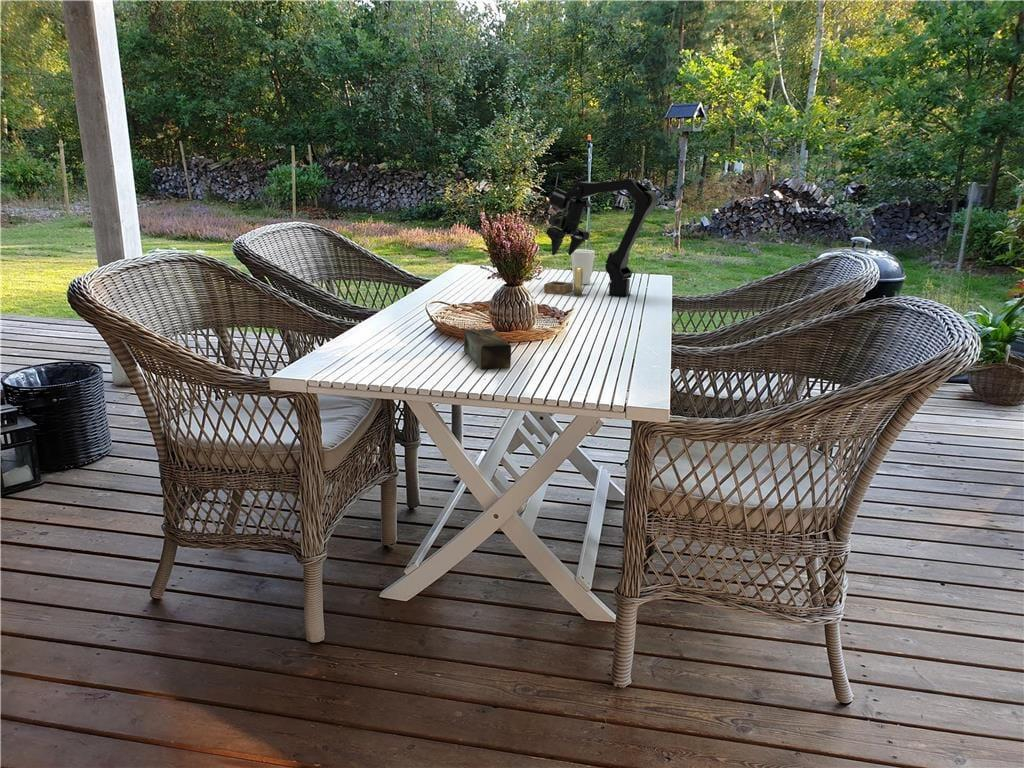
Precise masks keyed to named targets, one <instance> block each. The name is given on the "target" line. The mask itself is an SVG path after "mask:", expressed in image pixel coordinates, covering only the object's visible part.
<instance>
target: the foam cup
mask: <svg viewBox="0 0 1024 768" xmlns="http://www.w3.org/2000/svg"><path fill="white" fill-rule="evenodd" d="M595 256H596V252H595V250H592V249H583V248H582V249H580V248H577V249H576V250H575V251H574V252H573V253H572V254H571V255H570V259H571V268H572V278H573V282H572V283H574V275H575V267H582V268H583V282H582V284H589V283H591V277H592V273H593V266H594V260H595ZM589 285H590V284H589Z"/></svg>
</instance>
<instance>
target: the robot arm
mask: <svg viewBox="0 0 1024 768" xmlns="http://www.w3.org/2000/svg"><path fill="white" fill-rule="evenodd" d="M618 191H627V193H629V195H630V196H631V197H632V198H633V200H635V203H634V208H633V209H634V210H633V215H632V218H631V219H630V221H629V224H628V226H627V227H626V228H627V229H626V230H625V233H624V234H623V236H622V239H621V241H620V243H619V246H618V247H617V250H614V251H611V252H609V254H608V256H607V259H606V261H604V264H605V266H604V267H605V268H604V269H605V270H606V273H607V275H608V277H609V280H610V282H608V283H609V286H608V297H616V298H617V297H618V298H627V297H630V296H631V294H632V293H630V284H631V283H630V282H631V278H632V276H633V271H632V270H631V269H630V268H629V267H628V264H629V258H630V257H629V256H630V252H631V250H632V248H633V246H634V244H635V241H636V239H637V238H638V236H639V233H640V231H641V229H642V226H643V224H644V223H645V221H646V220H647V217H648V216H649V215H650V214H651V213H652V212H653V210H654V209H655V208H656V207H657V205H658V202H659V196H658V194H657V192H655V191H653V190H650V189H649V188H648V187H647V186H644V185H643V184H642V183H640V182H639V181H637V179H636V178H634V177H628V178H624V179H619V180H610V181H602V182H595V181H577V182H575V183H574V184H573V186H572V188H571V189H570V190H568V191H565V190H563V189H560V188H555V189H554V192H552V194H551V196H550V197H549V200H548V204H549V207H553V208H556V209H558V210H560V211H563V212H564V211H566V210H567V211H566V214H563V215H562V216H561V218H558V217H557V215H550V216H549V219H548V224H550V226H549V227H547V228H546V232H545V234H546V235H547V237H549V238H550V240H551V256H556V254H557V252H558V251H559V249H560V247H561V245H562V244H563V242H564V240H563V239H564V238H565V237H570V244H569V247H568V253H567V255H569V256H571V254H572V253H573V252H574V251H575V250H577V249H579V247H580V246H581V245H582V244H583V243H585V242H586V241H588V240H589V237H590V233H589V231H587V230H585V229H583V228H581V227H580V224H581V225H582V224H583V222H584V221H583V220H582V217H583V215H584V210H585V208H586V209H589V208H592V205H591V203H590V202H589V201H590V200H588V199H587V198H590V197H592V196H596V195H599V194H600V193H601V194H602V193H609V192H611V193H612V192H618ZM574 198H575V199H574ZM585 198H586V200H582V199H585Z"/></svg>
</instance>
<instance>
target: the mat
mask: <svg viewBox="0 0 1024 768" xmlns="http://www.w3.org/2000/svg"><path fill="white" fill-rule="evenodd" d="M589 295H590V294H589V293H582V296H574V292H571V293H568V294H566V295H563V296H564V297H571V298H578V299H579V298H580V299H581V298H584V297H587V296H589Z"/></svg>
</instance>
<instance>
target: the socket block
mask: <svg viewBox="0 0 1024 768" xmlns="http://www.w3.org/2000/svg"><path fill="white" fill-rule="evenodd" d="M543 286H544V287H543V290H544V291H543V292H544V294H549V295H550V294H552V295H558V296H564V295H567V294H569V293H574V282H567V281H566V282H565V281H557V280H556V281H555V280H553V281H550V282H547V283H545V284H544V285H543Z"/></svg>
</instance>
